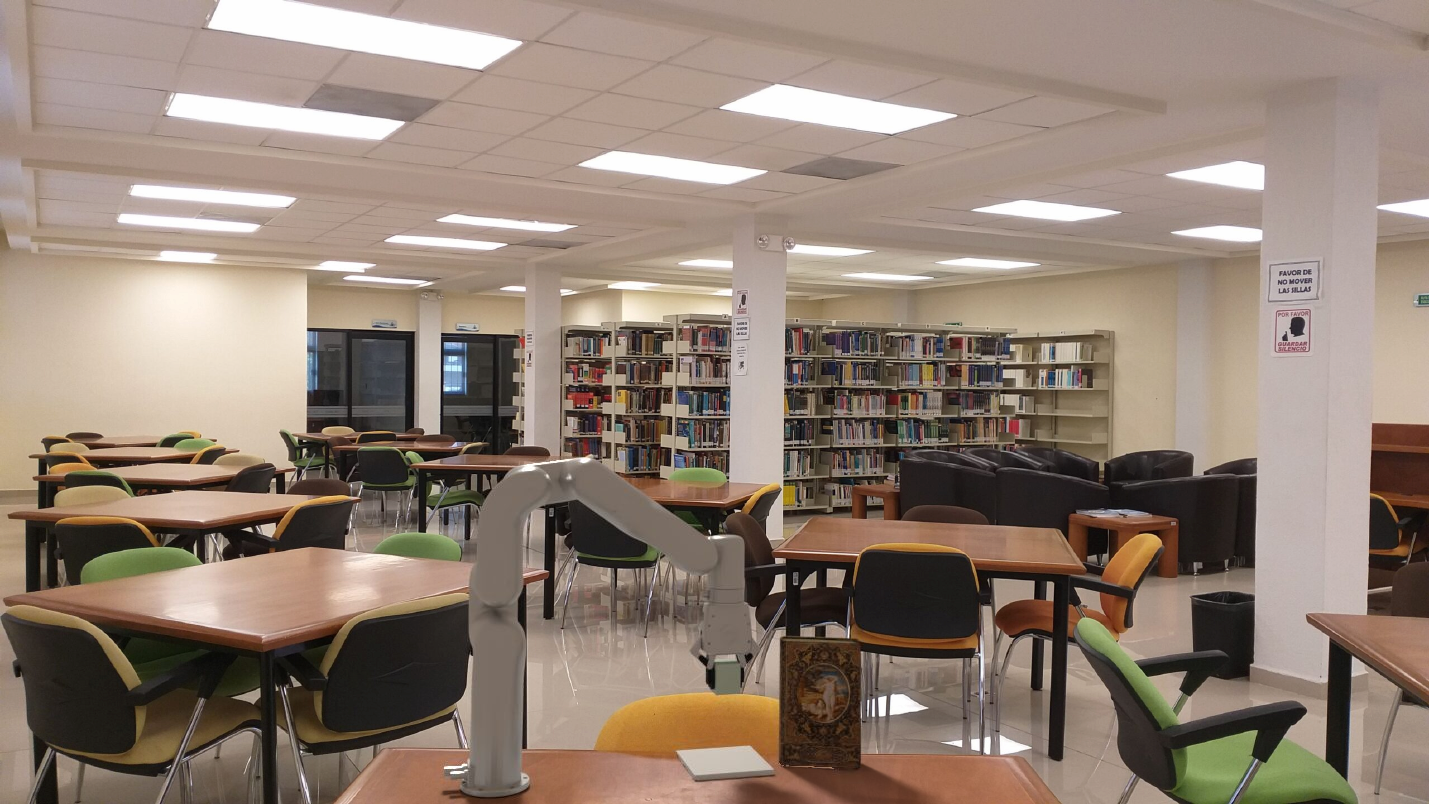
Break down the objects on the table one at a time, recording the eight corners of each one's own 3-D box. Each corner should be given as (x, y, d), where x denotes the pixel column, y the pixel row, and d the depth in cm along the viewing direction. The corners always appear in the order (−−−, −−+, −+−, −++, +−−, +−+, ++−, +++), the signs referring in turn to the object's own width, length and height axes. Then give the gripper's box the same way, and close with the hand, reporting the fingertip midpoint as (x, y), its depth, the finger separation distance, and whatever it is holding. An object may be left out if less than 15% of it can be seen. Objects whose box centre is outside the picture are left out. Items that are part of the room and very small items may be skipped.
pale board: (694, 780, 185) (694, 775, 185) (675, 755, 200) (676, 750, 200) (774, 774, 189) (774, 769, 189) (749, 750, 204) (749, 745, 204)
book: (778, 767, 194) (779, 640, 195) (779, 758, 199) (780, 635, 201) (861, 770, 192) (861, 643, 194) (859, 762, 198) (860, 638, 199)
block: (716, 695, 192) (716, 664, 193) (709, 689, 197) (710, 659, 198) (740, 693, 194) (740, 663, 194) (733, 688, 198) (733, 658, 199)
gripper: (689, 600, 191) (688, 694, 190) (771, 597, 195) (770, 689, 194) (680, 594, 198) (679, 685, 197) (759, 592, 202) (759, 680, 201)
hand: (724, 686), depth 196 cm, fingers closed on block, 5 cm apart
